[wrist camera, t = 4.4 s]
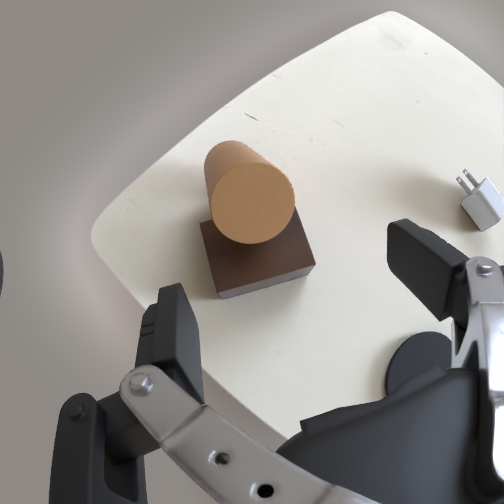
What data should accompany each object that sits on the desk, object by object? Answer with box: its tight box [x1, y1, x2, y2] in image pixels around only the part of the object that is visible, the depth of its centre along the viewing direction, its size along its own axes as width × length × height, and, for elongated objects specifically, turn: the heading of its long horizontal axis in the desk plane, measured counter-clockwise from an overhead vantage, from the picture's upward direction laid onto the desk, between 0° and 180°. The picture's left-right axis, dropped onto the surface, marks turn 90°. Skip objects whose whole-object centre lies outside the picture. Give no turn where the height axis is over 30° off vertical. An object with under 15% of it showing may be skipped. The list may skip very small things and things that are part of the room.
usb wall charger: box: [456, 169, 504, 232], centre depth 27 cm, size 4×7×4 cm, turn 37°
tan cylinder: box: [204, 141, 295, 244], centre depth 23 cm, size 12×5×12 cm, turn 16°
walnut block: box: [200, 206, 316, 299], centre depth 26 cm, size 6×8×4 cm
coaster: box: [385, 332, 452, 395], centre depth 23 cm, size 9×9×1 cm
